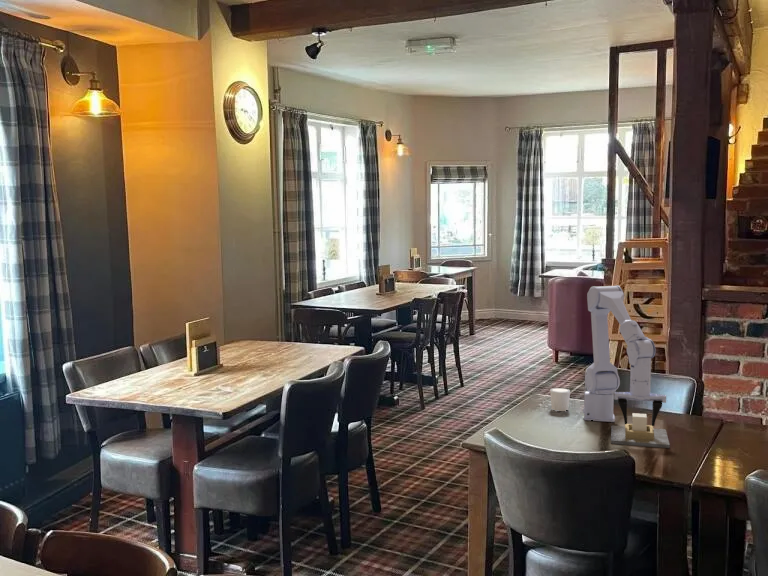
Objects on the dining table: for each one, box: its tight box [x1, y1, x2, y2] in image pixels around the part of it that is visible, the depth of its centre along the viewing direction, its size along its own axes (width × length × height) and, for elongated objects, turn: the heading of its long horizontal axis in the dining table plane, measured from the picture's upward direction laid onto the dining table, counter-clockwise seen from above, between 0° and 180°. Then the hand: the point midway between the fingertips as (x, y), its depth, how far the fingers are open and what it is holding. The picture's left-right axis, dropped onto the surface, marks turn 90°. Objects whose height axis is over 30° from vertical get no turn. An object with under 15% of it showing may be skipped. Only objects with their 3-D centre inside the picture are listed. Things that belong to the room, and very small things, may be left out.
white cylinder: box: [549, 387, 571, 412], centre depth 250 cm, size 7×7×7 cm
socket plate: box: [610, 423, 671, 449], centre depth 217 cm, size 16×16×3 cm
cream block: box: [631, 412, 648, 432], centre depth 216 cm, size 4×4×6 cm
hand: (639, 424), depth 217 cm, fingers open, 7 cm apart
